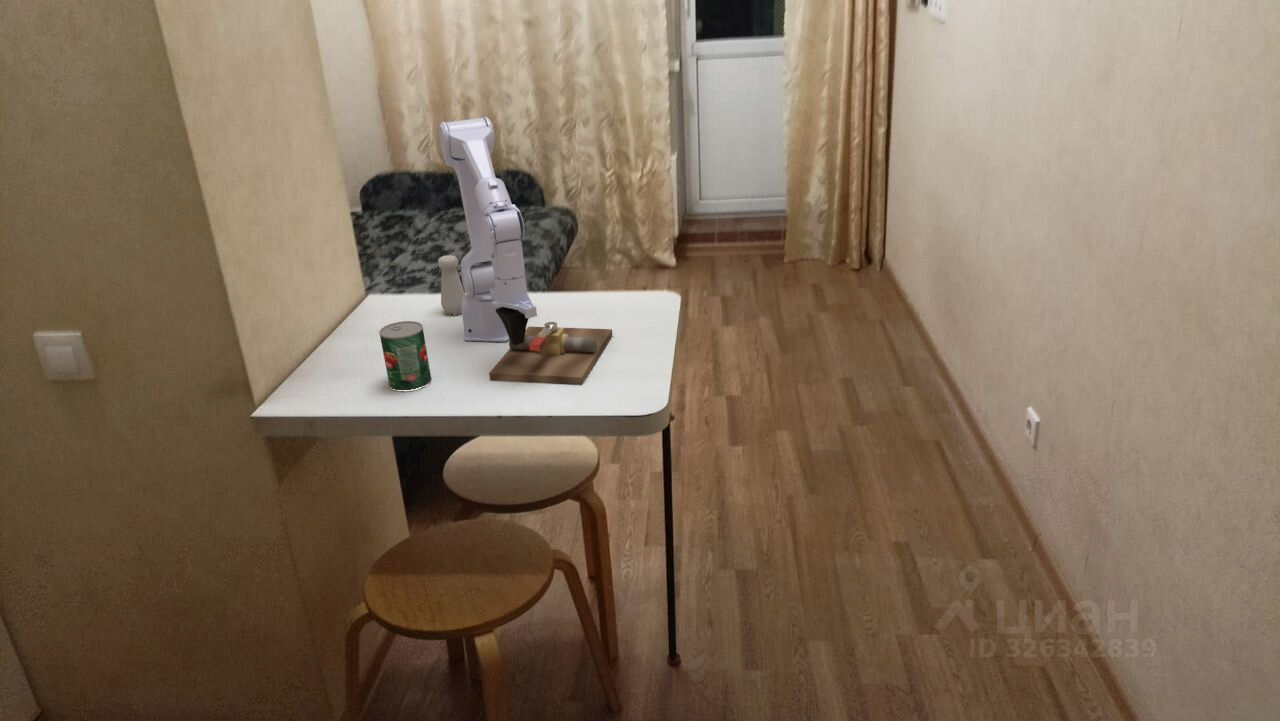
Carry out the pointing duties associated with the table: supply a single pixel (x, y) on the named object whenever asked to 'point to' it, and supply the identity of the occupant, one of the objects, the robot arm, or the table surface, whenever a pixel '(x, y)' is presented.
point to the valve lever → (543, 336)
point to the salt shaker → (450, 285)
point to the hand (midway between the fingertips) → (517, 342)
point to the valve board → (553, 356)
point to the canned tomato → (405, 355)
